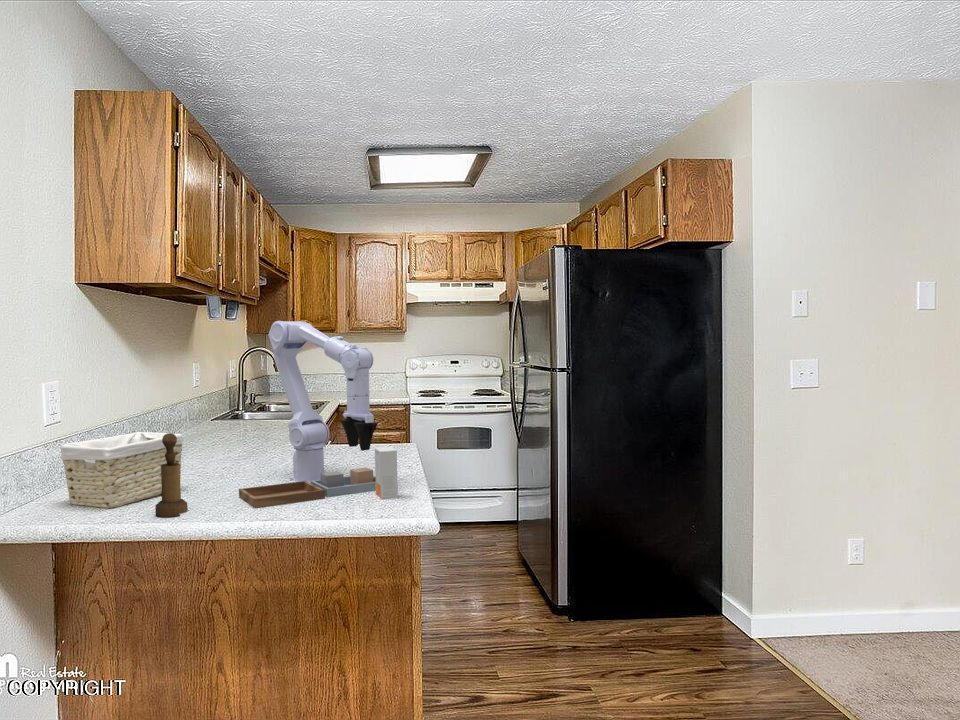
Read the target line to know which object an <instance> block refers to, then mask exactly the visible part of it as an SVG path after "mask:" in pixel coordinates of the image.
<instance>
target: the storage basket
mask: <svg viewBox="0 0 960 720" xmlns="http://www.w3.org/2000/svg"><path fill="white" fill-rule="evenodd" d="M165 434H169V433H168V432H156V431H155V432H152V431H136V432H131V433H126V434H119V435H114V436H109V437H108V436H107V437H101V438H96V439H90V440H83V441H77V442H69V443H68V442H67V443H64V444H61V445H60V458H61V460H62V464H63V468H64V475H65V480H66V486H67V492H68V497H69V500H68V501H69V503H70V504H71V505H75V506H78V505H79V506H83V505H85V506H86V507H92V506H93V508H102V509H108V508H109V509H110V508H118V507H122V506H124V505H128V504H129V505H130V504H132V503H136V502H139V501H142V500H145V499H146V500H147V499H150V498H153V497H157V496H159V495H162V483H161V465H162V464H167V461H166V458H165V454H166V452H167V450H166V447H165V446H164V444H163V442H162V438H163V436H164V435H165ZM173 434H174V435H175V436H176V437H177V442H176V444H175V446H174V449H173V450H174V453H176V456H175V461H174V463H179V464H180V479H181V477H182V476H181V473H182V472H181V469H182V468H181V467H182V452H183V437H182V436H183V435H182V434H181V433H173ZM180 488H181V485H180Z"/></svg>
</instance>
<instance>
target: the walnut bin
mask: <svg viewBox="0 0 960 720" xmlns="http://www.w3.org/2000/svg"><path fill="white" fill-rule="evenodd" d="M238 498H239V499H241V500H242V501H243V502H245V503H246V504H248V505H249V506H250V507H252V508H254V509H260V508H261V509H262V508H267V507H274V506H282V505H283V506H284V505H289V504H290V505H291V504H297V503H302V502H311V501H317V500H325V499H326V497H325V490H323V489H321V488H319V487H317V486H315V485H313V484H311V483H310V482H307V481H300V482H297V481H293V482H286V483H278V484H277V483H275V484H269V485H260V486H253V487H246V488H244V487H243V488H239V489H238Z"/></svg>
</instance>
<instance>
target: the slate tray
mask: <svg viewBox="0 0 960 720" xmlns="http://www.w3.org/2000/svg"><path fill="white" fill-rule="evenodd" d="M309 483H311V484H313V485H315V486H317V487H319V488H321V489H323V490H325V498H332V497H339V496H347V495H348V496H349V495H353V494H355V495H356V494H361V493H369V492H376V478H375V475H373V482H370V483H363V484H355V485H350V475H347V476H344V486H340V487H332V488H328V487H326V486H324V485H322V484H321V480H314V481H310V482H309Z"/></svg>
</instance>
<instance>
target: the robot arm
mask: <svg viewBox="0 0 960 720" xmlns="http://www.w3.org/2000/svg"><path fill="white" fill-rule="evenodd" d="M268 332H269V333H268V335H267V337H268V338H269V341H270V344H271V348H272V351H273V358H274V362H275V365H276V367H277V370H278V374H279V377H280V379H281V383H282V386H283V389H284V392H285V396H286V399H287V402H288V405H289V407H290V411H291V413H292V418H291V419H290V421H289V422H288V424H287V428H288V432H289V435H288V437H289V442H290V444H291V446H292V447H293V449H294V450H295V451H294V453H293V455H292V467H293V469H292V471H293V474H292V475H293V476H290V478H289V479H291V481H292V480H293V481H294V482H300V481H307V482H309V483H310V481H314V480H320V473H325V461H324V460H325V459H324V458H325V457H324V456H325V455H324V448H325V447H326V443H327V442H328V441H329V439H330V429H329V427H328V425H327V424H326V422H325V421H324V418H323V416H322V415H321V414H320V413H319V412H316V411H315V410H314V409H313V407H312V403H311V400H310V397H309V394H308V391H307V388H306V385H305V382H304V379H303V376H302V373H301V370H300V367H299V365H298V360H297V355H299V354H300V353H301V352H302V350H303V349H304V347H305V346H306V344H307V343H310V344H312V345H314V346H316V347H318V348H320V349H323V351H324V354H325V356H326V357H328V358H329V359H332V360H333V361H335V362H337V363H339V364H340V365H341V368H343V371H344V376H345V378H346V410H343V411H344V412H343V413H342V417H344V419H341V420H340V424H341V425H342V427H343V430H344V433H345V435H346V438H347V439H346V440H347V443H348V444H347V445H348V446H349V448H352V447H358V444H359V448H360V451H369V450H370V449H371V444H372V441H373V440H372V439H373V436H374V434H375V431H376V428H377V427H378V422H375V421H374V420H375V419H374V418H375V417H374V414H372V412H370V370H371V368H372V366H373V365H374V356H373V353H372V352H371V350H369V349H368V348H367V347H362V348H359V347H357V345H356V344H355V343H350V342H348V341H346V340H344V337H343V336H340V335H337V336H332V337H329V336H328V335H326V334H324V333H323V332H322V331H320V330H318V329H317V328H315V327H314V326H313V325H312V324H311V323H308V322H306V321H304V320H299V321H291V320H290V321H289V320H287V321H282V320H276V321H274V322H273V323H272V325H271V327H270V330H269V331H268Z"/></svg>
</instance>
